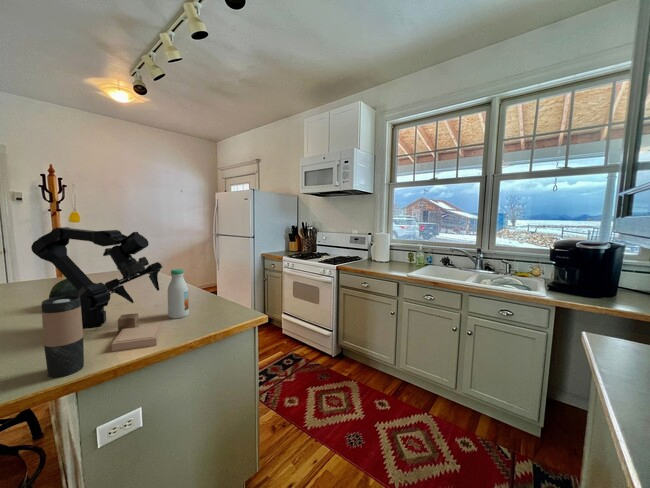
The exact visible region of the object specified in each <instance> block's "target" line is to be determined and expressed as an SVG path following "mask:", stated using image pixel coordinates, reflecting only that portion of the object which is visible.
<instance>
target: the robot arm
mask: <svg viewBox="0 0 650 488" xmlns="http://www.w3.org/2000/svg"><path fill="white" fill-rule="evenodd" d="M70 240H75V241H82V242H83V241H85V242H90V243H93V244H94V245H97V246H100V247H107V248H105V249H104V251H103V253H102V256H103V257H107V256H108V257H109V256H110V258H111V259H112V261H113V263H114V264H115V266H116V269H117V270H118V271H119V272H120V274H121V276H122V278H120V279H118V278H114V279H112V280H109V281H107V282H105V283H103V282H98V283H95V282H93V281H92V280H91V279H90V277H88V276H87V274H86V273H85V272H84V271H82V269H81V268H80V267H79V266H78V265H77V264H76V263H75V261H73V260H72V259H71V257H70V256H68V248H67V247H66V246H68V245H69V243H70ZM149 245H150V243H149V240H148V239H147V238H146V237H145V236H143V235H142V234H140V233H139V232H138V231H133V232H131V233H130V234H129V235H125V234H122V231H120V230H119V229H110V230H109V229H108V230H91V229H90V230H89V229H83V228H82V229H81V228H71V227H69V226H68V227H67V226H66V227H62V226H61V227H55V228H53V229H51V230H50V232H47V233H46V234H44V235H42V236H40V237H39V238H37V239H36V240H35V241H33V243H32V245H31V251H32V253H33V254H34V255H36V256H37V257H38V258H39V259H41V260H44V261H47V262H49V263H51V264H52V265H53V266H54V267H55V268H56V269H57V270H58V271H59V273H61V274H62V275H63V276H64V277H65V279H68V280H69V281H70V282H71V283H72V285H73V286H74V287H75V288H76V289H77V290H78V296H79V297H80V302H81V315H82V327H83V329H85V328H86V329H88V328H96V327H101V326H103V325H104V323H106V322H107V310H105V307H107V306H108V305H109V301H110V300H111V295H112V294H116V295H118V296H121V297H122V298H124V299H125V300H126V301H128V302H129V303H131V304H134V303H135V302H134V299H133V298H132V297H131V296H130V294H129V293H128V291H127V290H126V289H125V287H124V285H123V284H126V283H129V282H131V281H133V280H136V279H138V278H141V277H143V276H145V275H147V274H148V278H149V280H150V282H151V283H152V285H153V287H154V288H155V289H156V291H158V292H159V291H160V286H159V281H158V275H159V272H160V271H161V269H162V268H163V265H162V263H161V262H159V261H157V262H154V263H152V264H150V263H149V260H148V259H147V257H146V256H143V257H139V258H138V260H137V259H136V257H133V255H136V254H138V253H139V252H141V251H142V250H145V249H146V248H148V246H149ZM110 246H112V247H110ZM108 247H109V248H108ZM146 266H147V267H146Z"/></svg>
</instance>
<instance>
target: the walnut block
mask: <svg viewBox="0 0 650 488" xmlns="http://www.w3.org/2000/svg"><path fill="white" fill-rule="evenodd" d="M135 327H140V326H139V313H138V312H137V313H135V312H134V313H127V314H125V313H124V314H121V315H120V316H119V317H118V318H117V336H118V335H119V333H120V332H121V331H122V329H126V328H135Z"/></svg>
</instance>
